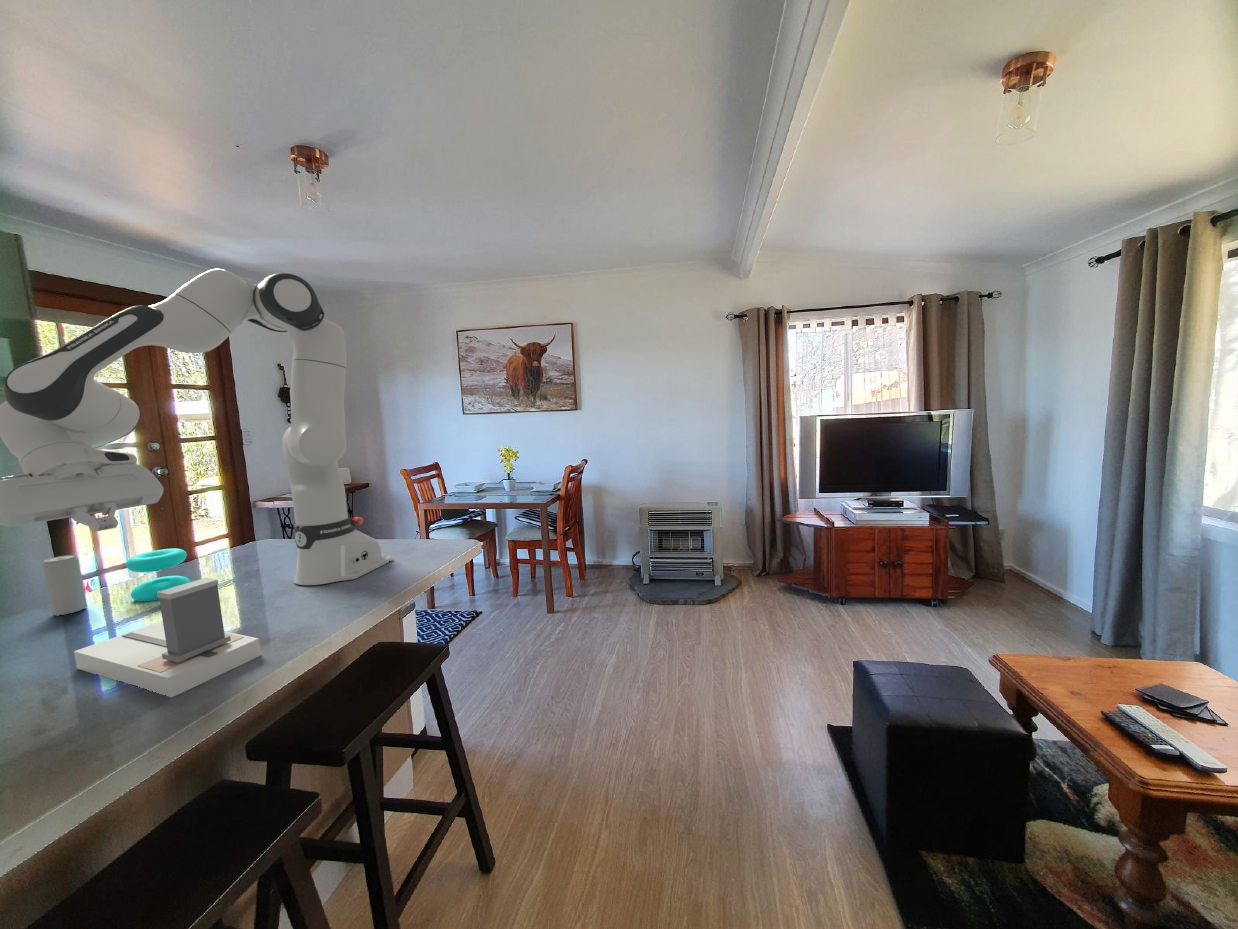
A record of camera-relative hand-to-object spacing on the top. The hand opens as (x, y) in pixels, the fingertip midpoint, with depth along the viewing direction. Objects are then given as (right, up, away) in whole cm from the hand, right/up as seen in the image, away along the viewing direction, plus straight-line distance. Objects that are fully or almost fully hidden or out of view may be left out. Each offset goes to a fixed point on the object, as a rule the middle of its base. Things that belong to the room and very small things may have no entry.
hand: (106, 527), depth 80 cm
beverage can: (-28, -21, +18) cm, 40 cm away
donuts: (-17, -20, +27) cm, 37 cm away
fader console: (+16, -22, -4) cm, 27 cm away
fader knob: (+23, -18, -8) cm, 30 cm away
